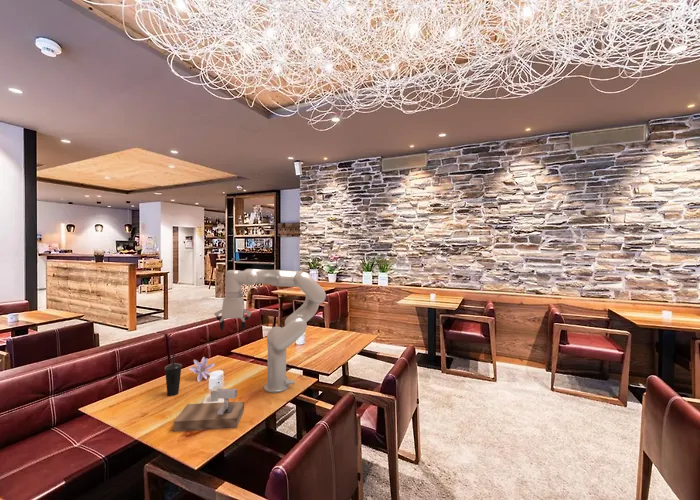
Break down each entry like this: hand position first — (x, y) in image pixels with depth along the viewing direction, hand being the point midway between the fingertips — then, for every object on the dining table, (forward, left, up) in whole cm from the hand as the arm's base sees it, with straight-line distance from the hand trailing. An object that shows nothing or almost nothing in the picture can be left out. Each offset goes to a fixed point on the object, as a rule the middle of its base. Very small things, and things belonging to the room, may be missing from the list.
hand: (232, 329), depth 155 cm
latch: (-3, +26, -28) cm, 38 cm away
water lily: (+21, -22, -33) cm, 45 cm away
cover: (+6, +6, -33) cm, 34 cm away
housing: (+3, +23, -32) cm, 40 cm away
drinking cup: (+29, -4, -32) cm, 44 cm away
